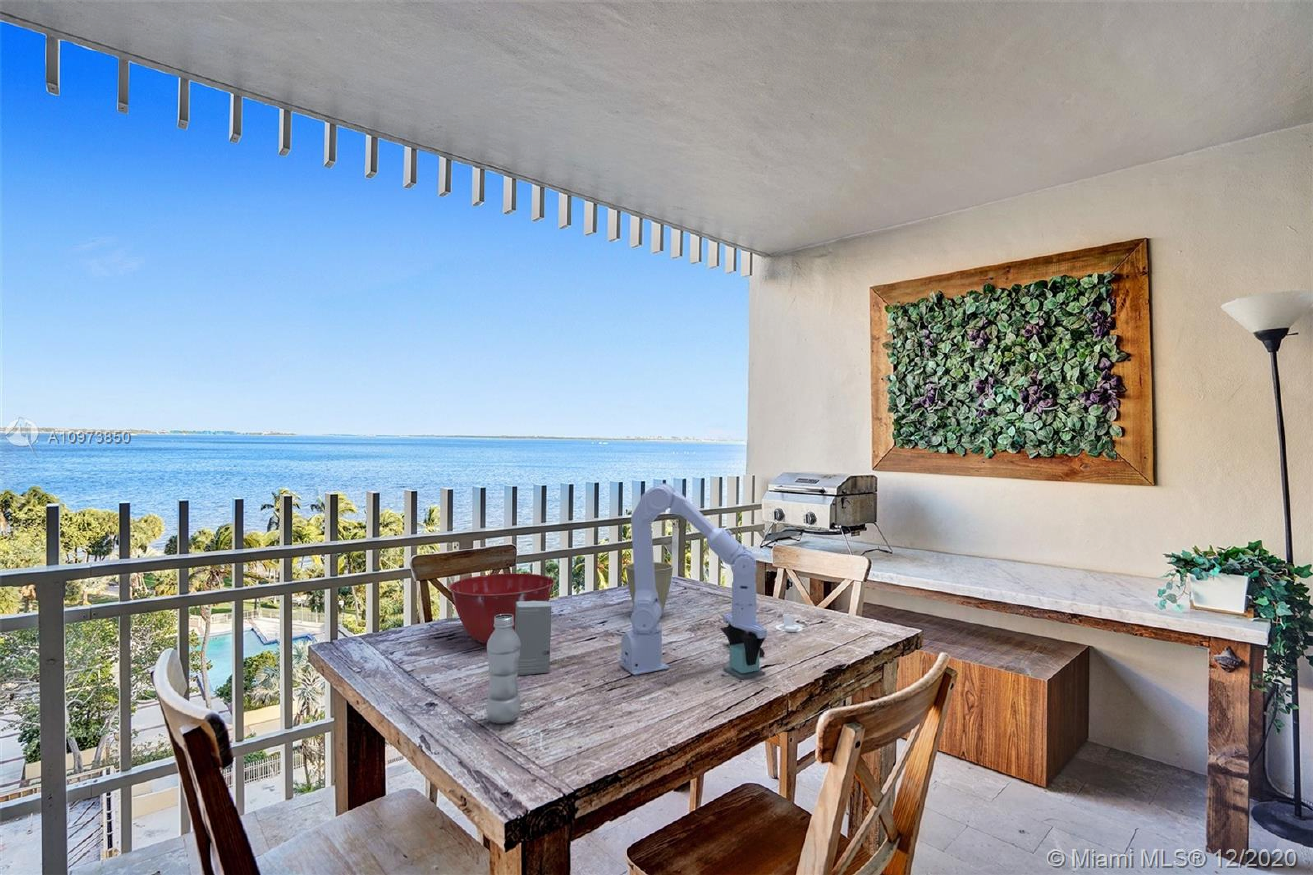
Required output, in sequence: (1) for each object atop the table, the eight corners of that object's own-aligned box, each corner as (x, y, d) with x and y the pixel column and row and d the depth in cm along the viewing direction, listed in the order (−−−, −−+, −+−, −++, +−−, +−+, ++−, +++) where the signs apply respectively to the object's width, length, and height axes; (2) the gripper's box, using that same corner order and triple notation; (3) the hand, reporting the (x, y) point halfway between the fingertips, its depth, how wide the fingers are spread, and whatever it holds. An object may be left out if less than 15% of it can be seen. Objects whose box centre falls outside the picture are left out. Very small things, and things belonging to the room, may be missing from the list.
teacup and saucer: (796, 635, 173) (796, 621, 173) (770, 631, 177) (770, 617, 177) (806, 628, 181) (806, 614, 181) (780, 624, 185) (780, 610, 185)
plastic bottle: (523, 712, 121) (523, 611, 121) (516, 728, 114) (517, 621, 114) (490, 713, 121) (491, 611, 121) (481, 728, 114) (482, 621, 114)
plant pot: (681, 614, 193) (681, 564, 194) (656, 626, 181) (656, 572, 181) (642, 608, 201) (642, 559, 202) (615, 618, 189) (616, 567, 189)
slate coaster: (740, 679, 139) (740, 677, 139) (723, 670, 145) (723, 667, 145) (765, 674, 142) (765, 672, 142) (747, 665, 148) (747, 662, 148)
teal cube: (742, 673, 140) (742, 651, 140) (729, 666, 144) (729, 645, 144) (759, 670, 142) (759, 648, 142) (746, 663, 147) (746, 642, 147)
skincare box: (514, 676, 140) (515, 607, 140) (513, 666, 147) (513, 600, 147) (551, 673, 142) (552, 605, 143) (548, 663, 149) (549, 598, 150)
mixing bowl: (432, 636, 170) (432, 580, 171) (522, 618, 189) (523, 568, 190) (476, 662, 149) (477, 599, 150) (574, 639, 168) (574, 583, 168)
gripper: (777, 607, 139) (777, 667, 139) (739, 594, 152) (739, 649, 152) (752, 611, 136) (752, 673, 136) (716, 597, 149) (716, 653, 148)
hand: (744, 660), depth 143 cm, fingers closed on teal cube, 5 cm apart
